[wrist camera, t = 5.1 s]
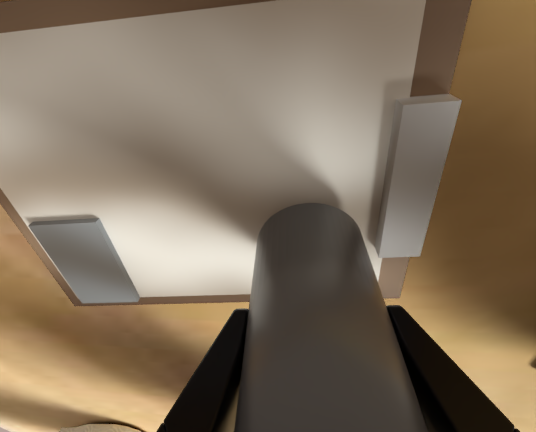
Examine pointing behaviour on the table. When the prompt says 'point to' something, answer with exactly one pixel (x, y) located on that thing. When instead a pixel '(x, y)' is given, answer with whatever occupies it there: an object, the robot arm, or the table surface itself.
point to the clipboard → (218, 134)
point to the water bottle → (320, 333)
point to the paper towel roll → (99, 428)
